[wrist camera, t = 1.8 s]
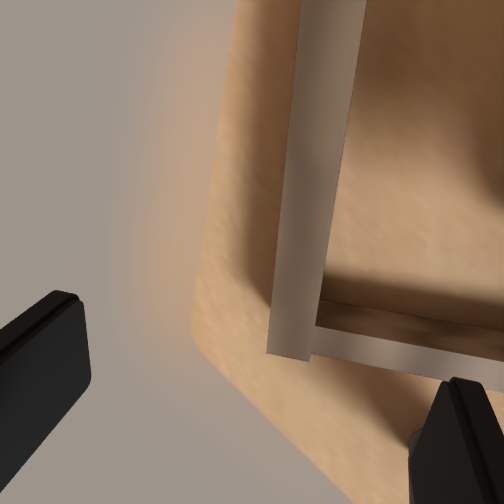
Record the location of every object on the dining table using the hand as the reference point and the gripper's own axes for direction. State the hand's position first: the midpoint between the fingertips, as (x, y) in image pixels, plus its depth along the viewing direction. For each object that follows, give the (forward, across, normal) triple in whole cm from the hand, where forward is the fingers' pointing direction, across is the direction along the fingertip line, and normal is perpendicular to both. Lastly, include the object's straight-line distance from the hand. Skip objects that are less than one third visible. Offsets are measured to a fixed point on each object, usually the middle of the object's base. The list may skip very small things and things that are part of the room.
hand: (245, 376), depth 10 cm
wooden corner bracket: (+20, -9, 0) cm, 22 cm away
